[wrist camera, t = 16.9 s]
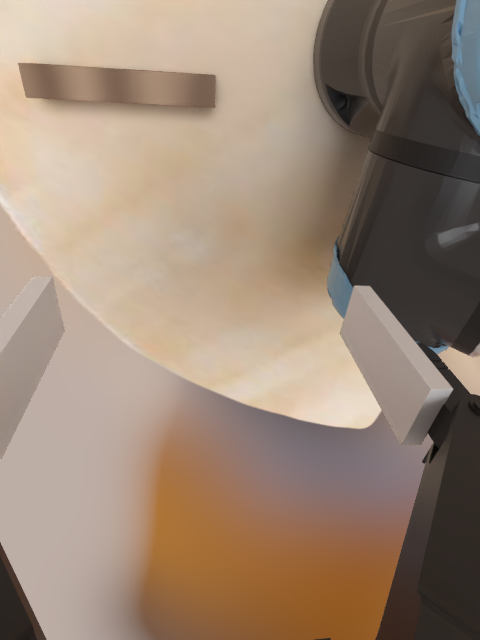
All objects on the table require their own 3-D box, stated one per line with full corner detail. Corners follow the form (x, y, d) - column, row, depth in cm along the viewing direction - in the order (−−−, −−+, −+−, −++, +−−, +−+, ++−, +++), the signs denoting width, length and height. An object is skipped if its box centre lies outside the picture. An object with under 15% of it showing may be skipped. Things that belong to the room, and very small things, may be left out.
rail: (213, 74, 35) (215, 75, 31) (212, 103, 37) (215, 107, 33) (39, 63, 34) (17, 62, 30) (45, 94, 35) (26, 97, 31)
